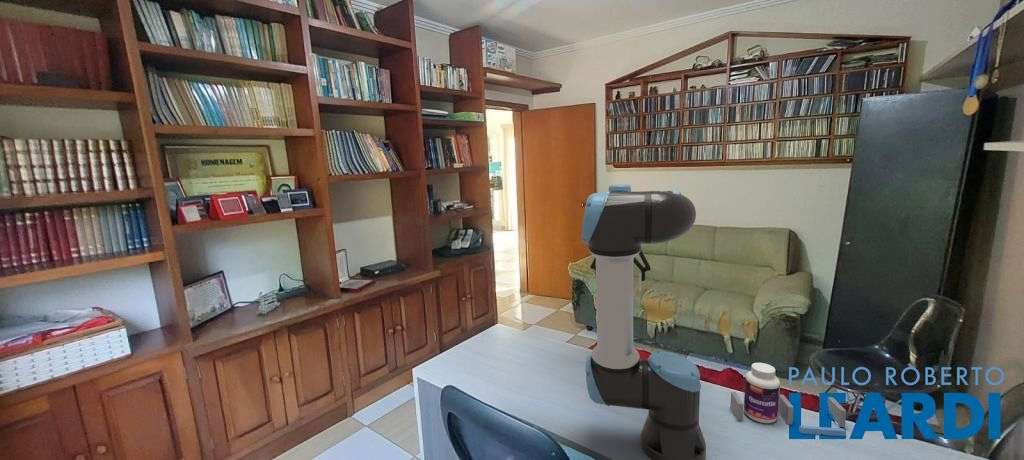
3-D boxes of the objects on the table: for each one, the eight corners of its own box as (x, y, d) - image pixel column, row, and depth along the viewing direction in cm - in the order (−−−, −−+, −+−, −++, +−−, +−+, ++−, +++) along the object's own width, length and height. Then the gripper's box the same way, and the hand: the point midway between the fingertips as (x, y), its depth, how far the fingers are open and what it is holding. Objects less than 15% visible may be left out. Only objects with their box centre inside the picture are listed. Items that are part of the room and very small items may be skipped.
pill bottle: (743, 420, 111) (746, 371, 109) (743, 404, 118) (745, 358, 116) (779, 428, 107) (782, 377, 105) (776, 411, 114) (779, 363, 112)
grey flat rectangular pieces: (853, 437, 103) (854, 419, 102) (742, 429, 108) (743, 411, 107) (831, 414, 112) (832, 397, 111) (730, 407, 117) (731, 391, 116)
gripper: (657, 227, 140) (657, 287, 143) (584, 227, 148) (585, 284, 151) (658, 231, 133) (657, 293, 136) (582, 230, 141) (583, 290, 144)
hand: (620, 288), depth 144 cm, fingers open, 13 cm apart
